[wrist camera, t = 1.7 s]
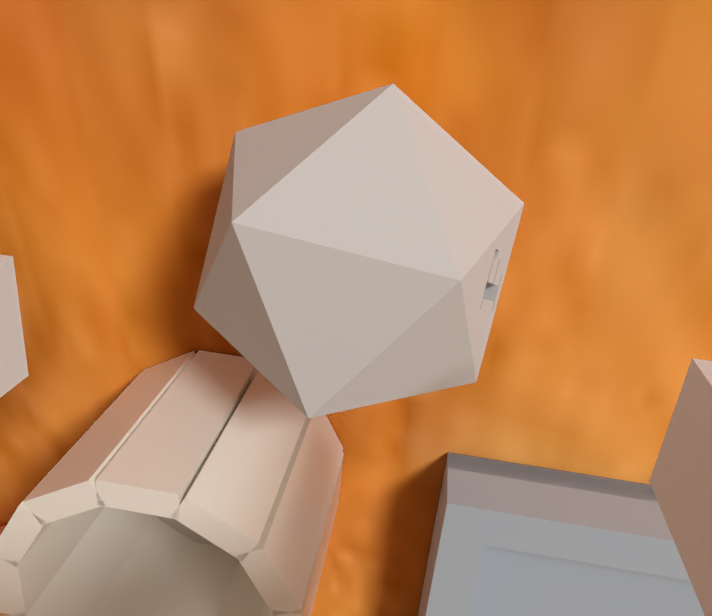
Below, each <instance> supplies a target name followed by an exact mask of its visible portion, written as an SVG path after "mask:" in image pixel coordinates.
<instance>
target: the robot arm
mask: <svg viewBox="0 0 712 616" xmlns="http://www.w3.org/2000/svg"><path fill="white" fill-rule="evenodd" d="M27 376H29V375H28V367H27V360H26V352H25V345H24V337H23V329H22V322H21V314H20V307H19V299H18V292H17V284H16V276H15V269H14V261H13V256H7V255H0V398H1V397H2V396H3V395H4V394H6V393H7V392H8V391H9V390H11V389H12V388H13V387H15V386H16V385H17V384H18V383H20V382H21V381H22V380H24V379H25V378H26V377H27ZM649 482H650V484H651V486H652V489H653V491H654V494H655V496H656V499H657V501H658V503H659V506H660V508H661V511H662V513H663V516H664V518H665V520H666V523H667V525H668V528H669V530H670V533H671V535H672V537H673V540H674V542H675V545H676V547H677V550H678V552H679V554H680V557H681V559H682V562H683V564H684V566H685V569H686V571H687V574H688V576H689V579H690V581H691V583H692V586H693V588H694V591H695V593H696V596H697V598H698V600H699V603H700V605H701V608H702V610H703V613H704V615H705V616H712V361H707V360H701V359H694V358H692V361H691V364H690V366H689V369H688V372H687V375H686V378H685V381H684V384H683V386H682V389H681V392H680V395H679V398H678V401H677V404H676V406H675V409H674V412H673V415H672V418H671V421H670V424H669V427H668V429H667V432H666V435H665V438H664V441H663V444H662V447H661V449H660V452H659V455H658V458H657V461H656V464H655V467H654V469H653V472H652V475H651V478H650V481H649Z"/></svg>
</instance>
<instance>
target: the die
mask: <svg viewBox="0 0 712 616" xmlns="http://www.w3.org/2000/svg"><path fill="white" fill-rule="evenodd" d="M523 206H524V203H523V202H522V201H521V200H520V199H519V198H518V197H517V196H515V195H514V194H513V193H512V192H511V191H510V190H509V189H508V188H507V187H506V186H505V185H503V184H502V183H501V182H500V181H499V180H498V179H497V178H496V177H495V176H494V175H492V174H491V173H490V172H489V171H488V170H487V169H486V168H485V167H484V166H483V165H482V164H480V163H479V162H478V161H477V160H476V159H475V158H474V157H473V156H472V155H471V154H470V153H468V152H467V151H466V150H465V149H464V148H463V147H462V146H461V145H460V144H459V143H458V142H456V141H455V140H454V139H453V138H452V137H451V136H450V135H449V134H448V133H447V132H446V131H444V130H443V129H442V128H441V127H440V126H439V125H438V124H437V123H436V122H435V121H434V120H432V119H431V118H430V117H429V116H428V115H427V114H426V113H425V112H424V111H423V110H422V109H420V108H419V107H418V106H417V105H416V104H415V103H414V102H413V101H412V100H411V99H409V98H408V97H407V96H406V95H405V94H404V93H403V92H402V91H401V90H400V89H399V88H397V87H396V86H395V85H394V84H390V85H387V86H383V87H380V88H377V89H374V90H370V91H367V92H364V93H361V94H357V95H354V96H351V97H348V98H344V99H341V100H338V101H335V102H331V103H328V104H325V105H322V106H318V107H315V108H312V109H308V110H305V111H302V112H299V113H295V114H292V115H289V116H286V117H282V118H279V119H276V120H273V121H269V122H266V123H263V124H260V125H256V126H253V127H250V128H247V129H243V130H240V131H237V132H235V136H234V140H233V144H232V148H231V153H230V157H229V161H228V165H227V169H226V174H225V178H224V182H223V186H222V190H221V195H220V199H219V203H218V207H217V211H216V216H215V220H214V224H213V228H212V232H211V236H210V241H209V245H208V249H207V253H206V257H205V262H204V266H203V270H202V274H201V278H200V283H199V287H198V291H197V295H196V299H195V303H194V308H193V309H195V310H196V311H197V312H198V313H199V314H200V315H201V316H202V317H203V318H204V319H205V320H206V321H207V322H208V323H209V324H210V325H211V326H212V327H213V328H214V329H215V330H216V331H218V332H219V333H220V334H221V335H222V336H223V337H224V338H225V339H226V340H227V341H228V342H229V343H230V344H231V345H232V346H233V347H234V348H235V349H236V350H237V351H238V352H239V353H240V354H242V355H243V356H244V357H245V358H246V359H247V360H248V361H249V362H250V363H251V364H252V365H253V366H254V367H255V368H256V369H257V370H258V371H259V372H260V373H261V374H262V375H263V376H265V377H266V378H267V379H268V380H269V381H270V382H271V383H272V384H273V385H274V386H275V387H276V388H277V389H278V390H279V391H280V392H281V393H282V394H283V395H284V396H285V397H286V398H288V399H289V400H290V401H291V402H292V403H293V404H294V405H295V406H296V407H297V408H298V409H299V410H300V411H301V412H302V413H303V414H304V415H305V416H306V417H307V418H313V417H317V416H322V415H327V414H331V413H336V412H341V411H345V410H350V409H354V408H359V407H364V406H368V405H373V404H377V403H382V402H387V401H391V400H396V399H400V398H405V397H410V396H414V395H419V394H423V393H428V392H433V391H437V390H442V389H446V388H451V387H456V386H460V385H465V384H469V383H474V382H476V381H477V377H478V374H479V370H480V366H481V363H482V359H483V355H484V351H485V348H486V344H487V340H488V337H489V333H490V329H491V325H492V322H493V318H494V314H495V311H496V307H497V303H498V299H499V296H500V292H501V288H502V284H503V281H504V277H505V273H506V270H507V266H508V262H509V258H510V255H511V251H512V247H513V244H514V240H515V236H516V232H517V229H518V225H519V221H520V218H521V214H522V210H523Z"/></svg>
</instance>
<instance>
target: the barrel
mask: <svg viewBox="0 0 712 616" xmlns="http://www.w3.org/2000/svg"><path fill="white" fill-rule="evenodd" d="M342 451H343V446H342V444H341V442H340V441H339V439H338V437H337V435H336V433H335V431H334V429H333V427H332V425H331V424H330V422H329V420H328V418H327V416H326V415H322V416H317V417H313V418H307V417H306V416H305V415H304V414H303V413H302V412H301V411H300V410H299V409H298V408H297V407H296V406H295V405H294V404H293V403H292V402H291V401H290V400H289V399H288V398H286V397H285V396H284V395H283V394H282V393H281V392H280V391H279V390H278V389H277V388H276V387H275V386H274V385H273V384H272V383H271V382H270V381H269V380H268V379H267V378H266V377H265V376H263V375H262V374H261V373H260V372H259V371H258V370H257V369H256V368H255V367H254V366H253V365H252V364H251V363H250V362H249V361H248V360H247V359H246V358H245V357H241V356H235V355H228V354H222V353H215V352H208V351H202V350H199V351H198V352H197V353H195V351H192V352H189V353H186V354H184V355H181V356H178V357H176V358H173V359H170V360H168V361H165V362H162V363H160V364H157V365H155V366H152V367H149V368H147V369H144V370H143V372H141V373H140V374H139V375H138V376H137V377H136V378H135V379H134V380H133V381H132V382H131V384H130V385H129V386H128V387H127V388H126V389H125V390H124V391H123V392H122V393H121V394H120V396H119V397H118V398H117V399H116V400H115V401H114V402H113V403H112V404H111V405H110V406H109V408H108V409H107V410H106V411H105V412H104V413H103V414H102V415H101V416H100V417H99V418H98V420H97V421H96V422H95V423H94V424H93V425H92V426H91V427H90V428H89V429H88V430H87V432H86V433H85V434H84V435H83V436H82V437H81V438H80V439H79V440H78V441H77V442H76V444H75V445H74V446H73V447H72V448H71V449H70V450H69V451H68V452H67V453H66V454H65V456H64V457H63V458H62V459H61V460H60V461H59V462H58V463H57V464H56V465H55V466H54V467H53V469H52V470H51V471H50V472H49V473H48V474H47V475H46V476H45V477H44V478H43V479H42V481H41V482H40V483H39V484H38V485H37V486H36V487H35V488H34V489H33V490H32V491H31V493H30V494H29V495H28V496H27V497H26V498H25V499H24V500H23V501H22V502H21V503H20V505H19V506H18V508H17V509H16V511H15V512H14V514H13V516H12V517H11V519H10V521H9V522H8V524H7V526H6V527H5V529H4V530H3V532H2V534H1V535H0V613H5V615H4V616H311V613H312V609H313V605H314V601H315V597H316V593H317V589H318V585H319V580H320V576H321V572H322V568H323V564H324V560H325V556H326V552H327V548H328V543H329V539H330V535H331V531H332V527H333V523H334V519H335V515H336V511H337V507H338V502H339V498H340V488H341V479H342V469H343V460H344V452H342Z"/></svg>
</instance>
